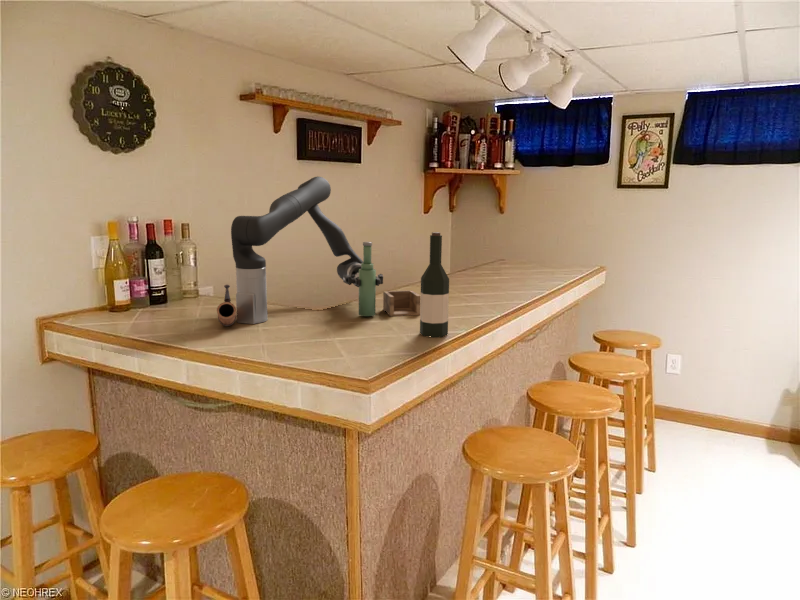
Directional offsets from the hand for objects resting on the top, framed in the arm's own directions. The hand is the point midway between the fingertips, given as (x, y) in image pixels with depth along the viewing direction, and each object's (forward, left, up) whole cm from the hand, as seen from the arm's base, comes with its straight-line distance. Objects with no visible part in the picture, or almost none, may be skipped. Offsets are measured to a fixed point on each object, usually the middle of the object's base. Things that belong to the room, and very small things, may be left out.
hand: (368, 282), depth 193 cm
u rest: (+12, -8, -12) cm, 19 cm away
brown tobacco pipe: (-20, +40, -12) cm, 46 cm away
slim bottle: (+2, +1, -11) cm, 11 cm away
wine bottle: (-14, -25, -12) cm, 31 cm away
